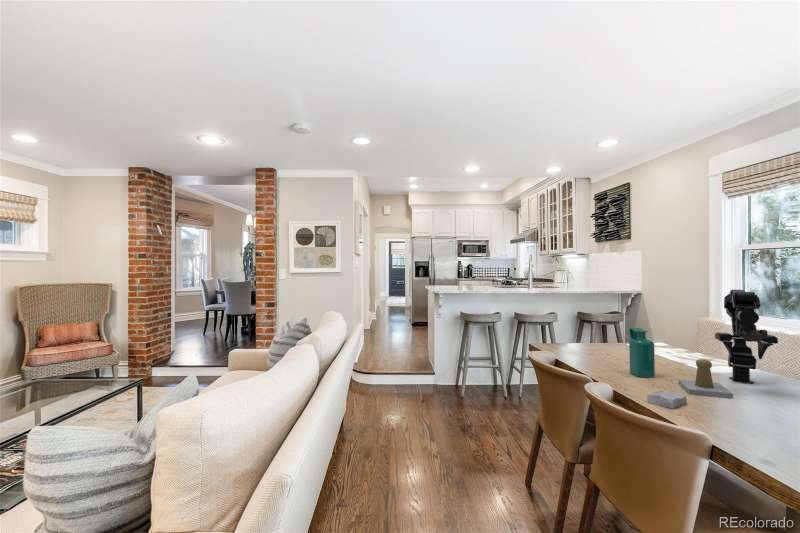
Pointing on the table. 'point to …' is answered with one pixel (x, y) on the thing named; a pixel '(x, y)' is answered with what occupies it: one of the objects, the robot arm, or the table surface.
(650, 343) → the teal bottle
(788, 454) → the table surface
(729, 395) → the plinth
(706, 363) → the cork
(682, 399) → the stone block
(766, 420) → the table surface
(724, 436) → the table surface
